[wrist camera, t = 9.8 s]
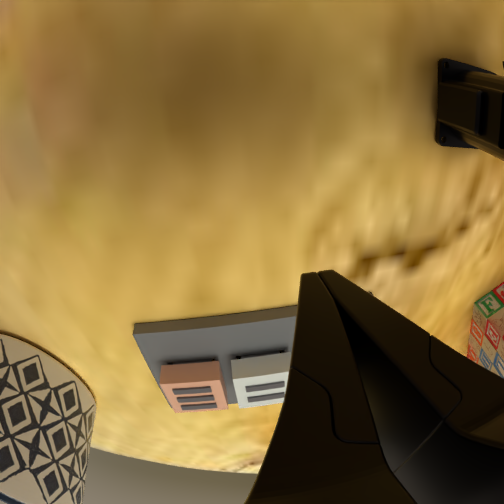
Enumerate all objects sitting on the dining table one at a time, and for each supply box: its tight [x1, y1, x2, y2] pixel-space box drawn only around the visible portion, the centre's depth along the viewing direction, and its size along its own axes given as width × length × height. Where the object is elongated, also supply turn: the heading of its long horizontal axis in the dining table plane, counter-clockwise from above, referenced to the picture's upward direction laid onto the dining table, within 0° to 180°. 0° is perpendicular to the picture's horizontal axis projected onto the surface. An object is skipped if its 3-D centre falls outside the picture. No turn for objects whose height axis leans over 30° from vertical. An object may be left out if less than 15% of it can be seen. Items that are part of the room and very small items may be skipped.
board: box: [133, 293, 373, 408], centre depth 27 cm, size 20×12×1 cm, turn 94°
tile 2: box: [231, 351, 291, 408], centre depth 26 cm, size 5×5×4 cm
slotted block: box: [159, 359, 228, 413], centre depth 26 cm, size 5×5×4 cm
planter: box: [0, 334, 96, 504], centre depth 21 cm, size 18×18×16 cm
